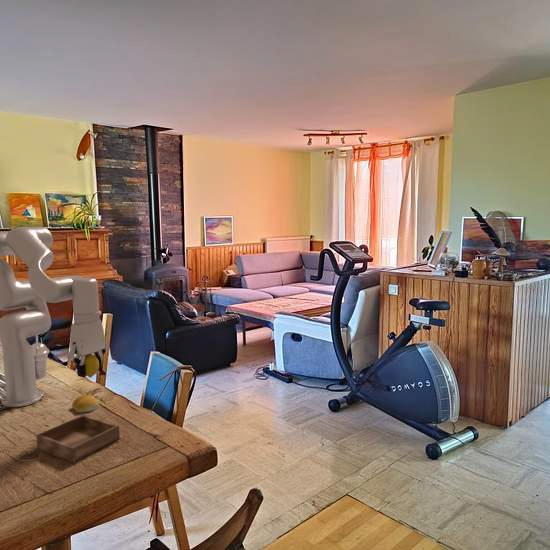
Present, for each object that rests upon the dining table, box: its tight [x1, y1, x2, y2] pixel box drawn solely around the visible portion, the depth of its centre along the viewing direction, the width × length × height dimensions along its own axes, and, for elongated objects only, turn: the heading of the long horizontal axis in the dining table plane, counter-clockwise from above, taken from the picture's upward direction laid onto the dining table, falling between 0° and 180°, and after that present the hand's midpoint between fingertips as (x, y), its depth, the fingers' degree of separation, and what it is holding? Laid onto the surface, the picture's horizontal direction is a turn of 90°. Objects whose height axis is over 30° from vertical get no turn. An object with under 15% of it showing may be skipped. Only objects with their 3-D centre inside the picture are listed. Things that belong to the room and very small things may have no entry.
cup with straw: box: [30, 335, 50, 379], centre depth 193 cm, size 8×9×20 cm
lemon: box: [84, 353, 99, 379], centre depth 151 cm, size 6×6×8 cm
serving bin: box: [36, 414, 121, 464], centre depth 137 cm, size 16×16×4 cm
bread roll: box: [71, 394, 100, 413], centre depth 163 cm, size 8×9×4 cm
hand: (90, 373), depth 152 cm, fingers closed on lemon, 5 cm apart
